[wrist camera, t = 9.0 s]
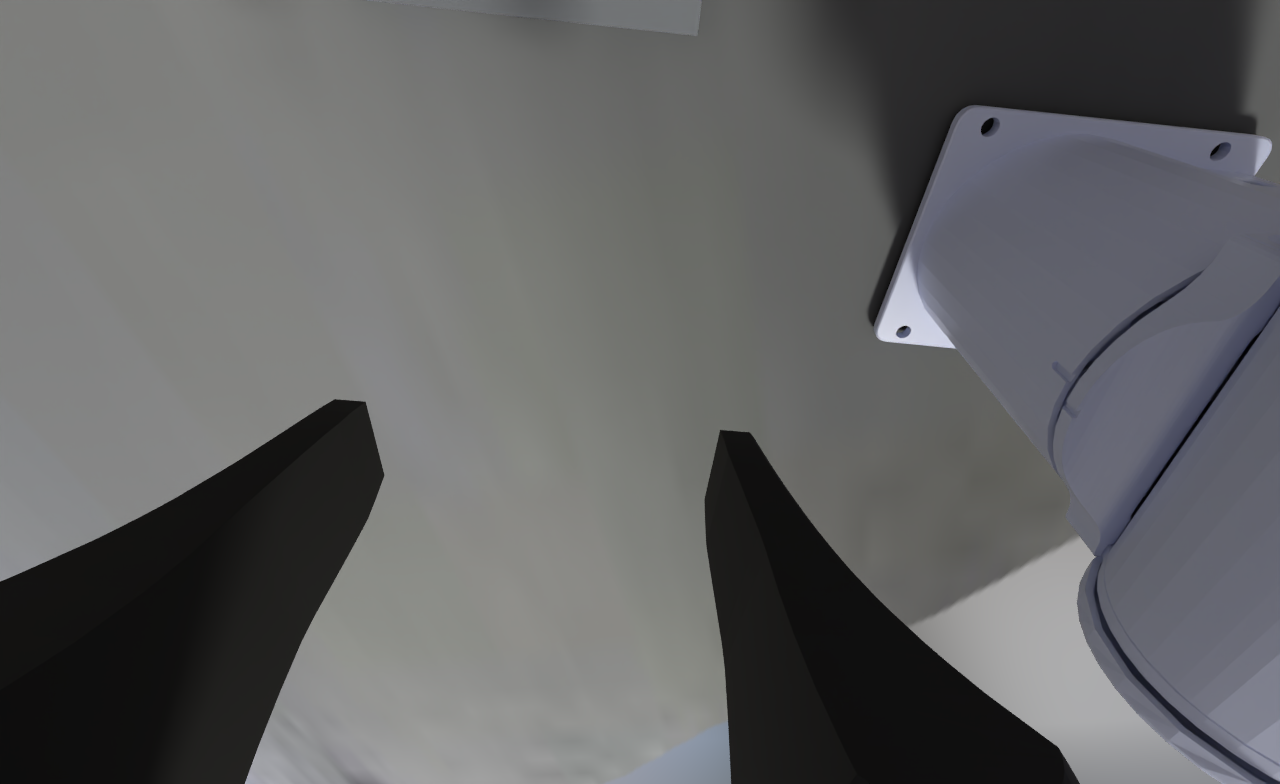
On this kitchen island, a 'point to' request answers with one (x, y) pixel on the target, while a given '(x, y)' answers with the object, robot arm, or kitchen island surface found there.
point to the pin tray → (587, 12)
